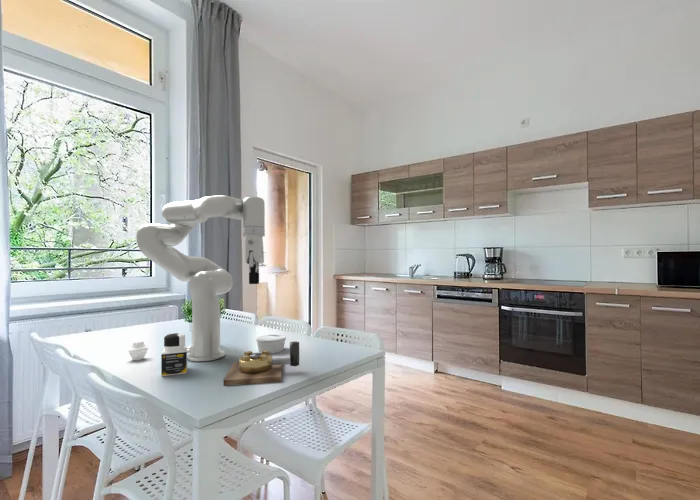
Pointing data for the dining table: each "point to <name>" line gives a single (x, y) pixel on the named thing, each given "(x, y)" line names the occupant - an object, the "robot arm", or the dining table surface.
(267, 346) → the ramekin
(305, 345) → the dining table surface
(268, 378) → the walnut board
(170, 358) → the medicine bottle
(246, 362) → the brass valve
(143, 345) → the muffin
